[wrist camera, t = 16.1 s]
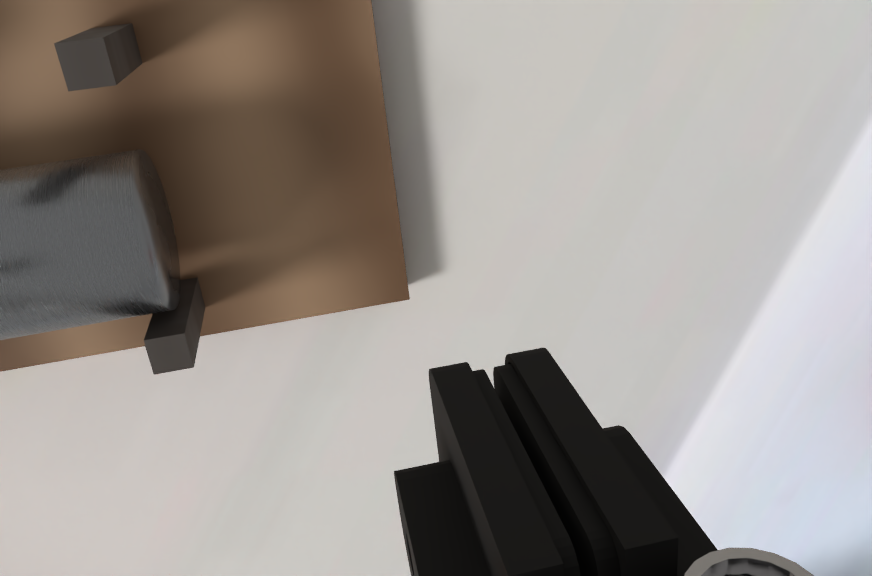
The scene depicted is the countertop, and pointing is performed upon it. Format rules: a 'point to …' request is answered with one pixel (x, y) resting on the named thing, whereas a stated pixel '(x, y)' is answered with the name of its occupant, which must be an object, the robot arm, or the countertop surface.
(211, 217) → the board
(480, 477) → the robot arm
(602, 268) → the countertop surface
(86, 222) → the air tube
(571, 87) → the countertop surface
